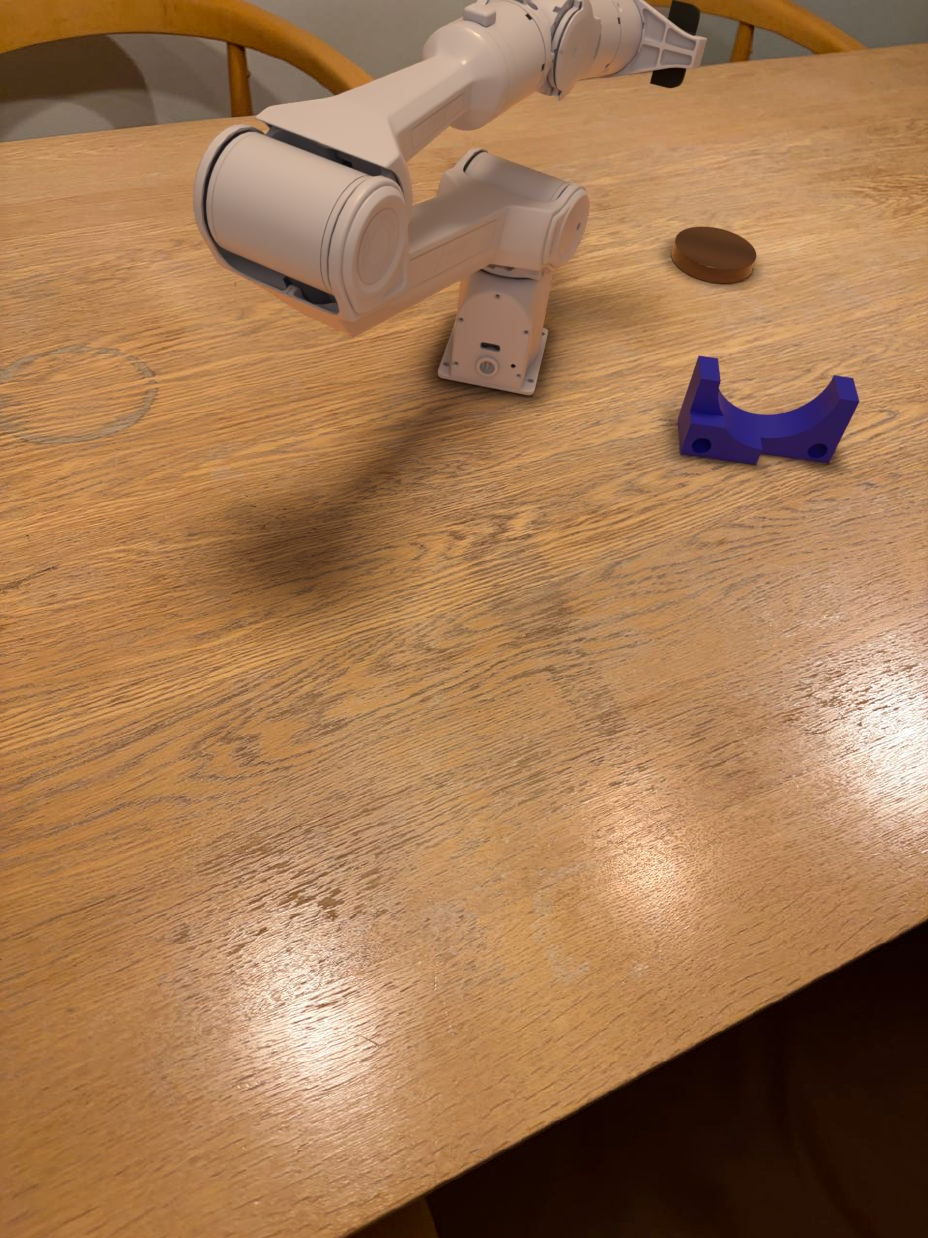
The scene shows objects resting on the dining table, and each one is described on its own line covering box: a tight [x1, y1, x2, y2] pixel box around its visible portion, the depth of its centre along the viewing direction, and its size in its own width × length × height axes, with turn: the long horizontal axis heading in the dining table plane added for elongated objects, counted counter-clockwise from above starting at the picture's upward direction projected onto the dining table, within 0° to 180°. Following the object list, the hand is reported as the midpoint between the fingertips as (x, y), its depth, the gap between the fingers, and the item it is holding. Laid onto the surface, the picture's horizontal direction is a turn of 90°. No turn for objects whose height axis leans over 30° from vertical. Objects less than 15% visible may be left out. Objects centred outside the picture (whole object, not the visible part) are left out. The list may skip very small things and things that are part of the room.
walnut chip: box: [670, 225, 757, 284], centre depth 97 cm, size 8×8×2 cm
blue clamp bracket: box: [677, 355, 860, 465], centre depth 76 cm, size 12×4×6 cm, turn 84°
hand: (645, 28), depth 81 cm, fingers open, 7 cm apart
